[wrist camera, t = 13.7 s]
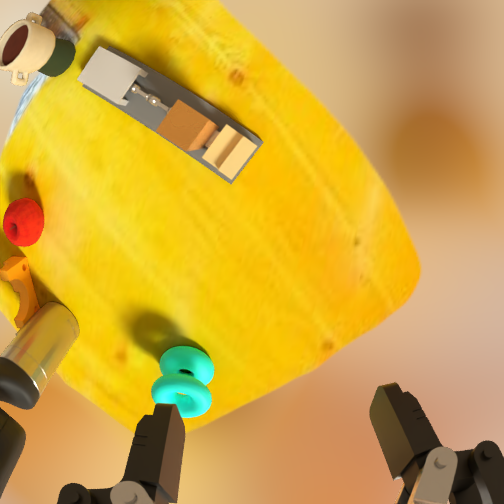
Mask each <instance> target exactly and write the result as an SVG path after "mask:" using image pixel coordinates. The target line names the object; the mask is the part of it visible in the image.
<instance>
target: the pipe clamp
mask: <svg viewBox="0 0 504 504" xmlns="http://www.w3.org/2000/svg"><path fill="white" fill-rule="evenodd" d="M3 263H4V267H2V268H1V269H0V277H1V280H3V281H10V283H11V284H12V287H13V290H14V291H15V292H20V307H19V311H18V314H17V316H16V317H15V319H14V321H15V323H16V326H17V328H20V329H21V328H22V326H23V325H24V324H25V323H26V322H27V321H28V320H29V319H30V318H31V317H32V316H33V314H34V313H35V312H36V311H37V310H38V309H39V308H40V307H39V303H38V300H37V297H36V293H35V289H34V286H33V282H32V278H31V274H30V270H29V266H28V261H27V257H20V256H12V257H10V258H9V259H7V260H6V261H4V262H3Z"/></svg>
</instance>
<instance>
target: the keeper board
mask: <svg viewBox="0 0 504 504" xmlns="http://www.w3.org/2000/svg"><path fill="white" fill-rule="evenodd" d="M77 80H78V81H80V82H82V83H83V87H85V88H86V89H88V90H90V91H91V92H93V93H94V94H96V95H98V96H99V97H101V98H103V99H104V100H106V101H107V102H109V103H111V104H112V105H114V106H115V107H117V108H119V109H120V110H122V111H123V112H125V113H126V114H128V115H130V116H131V117H133V118H134V119H136V120H137V121H139V122H140V123H142V124H144V125H145V126H147V127H148V128H150V129H151V130H153V131H154V132H156V130H157V128H158V127H159V125H160V124H161V122H162V121H163V119H164V118H165V117H166V115H167V112H166V110H164V109H163V108H161V107H159V106H158V107H155V106H153V105H152V104H150V103H148V102H147V101H146V99H145V97H143V96H142V95H140V94H134V93H132V92H131V91H129V90H128V89H129V88H130V86H131V85H132V83H135V84H136V85H138V86H140V87H141V90H142V91H143V92H145V93H147V94H153V95H155V96H156V97H158V98H160V99H161V103H163V104H164V105H166V106H168V107H173V105H174V104H175V103H176V101H177V100H178V99H179V100H180V101H182V102H183V103H185V104H187V105H188V106H190V107H191V108H193V109H194V110H196V111H197V112H199V113H200V114H202V115H203V116H205V117H206V118H208V119H209V120H211V121H212V122H213V123H215V124H216V125H217V126H219V128H218V130H217V131H218V132H220V133H219V135H218V136H217V137H216V139H215V140H214V141H213V143H212V144H211V146H210V147H209V148H208V147H206V146H205V147H204V148H203V149H199V150H193V151H187V152H186V151H184V150H183V149H182V148H180V147H179V146H177V145H176V144H174V143H173V142H171V141H170V140H168V139H167V138H165V137H164V136H162V135H161V134H159V133H158V132H156V133H157V134H159V135H160V136H162V137H163V138H165V139H166V140H168V141H169V142H171V143H172V144H174V145H175V146H177V147H178V148H180V149H181V150H183V151H184V152H185V153H187V154H188V155H190V156H191V157H193V158H194V159H196V160H197V161H199V162H200V163H201V164H203V165H204V166H206V167H207V168H209V169H210V170H212V171H213V172H214V173H216V174H217V175H219V176H220V177H221V178H223V179H224V180H226V181H227V182H228V183H230V184H232V183H233V181H234V180H235V179H236V177H237V176H238V175H239V173H240V172H241V171H242V169H243V168H244V167H245V165H246V164H247V163H248V162H249V160H250V159H251V158H252V156H253V155H254V154H255V153H256V151H257V150H258V149H259V147H260V146H261V145H262V144H263V141H261V140H260V139H259V138H257V137H256V136H255V135H253V134H252V133H250V132H249V131H248V130H246V129H245V128H244V127H242V126H241V125H239V124H238V123H236V122H235V121H234V120H232V119H231V118H229V117H228V116H226V115H225V114H223V113H222V112H221V111H219V110H218V109H216V108H215V107H213V106H212V105H210V104H209V103H207V102H205V101H204V100H202V99H201V98H199V97H198V96H196V95H195V94H193V93H191V92H190V91H188V90H187V89H185V88H184V87H182V86H180V85H179V84H177V83H175V82H174V81H172V80H170V79H169V78H167V77H165V76H164V75H162V74H160V73H159V72H157V71H155V70H153V69H152V68H150V67H148V66H146V65H145V64H143V63H141V62H139V61H137V60H135V59H134V58H132V57H130V56H128V55H126V54H124V53H122V52H120V51H118V50H117V49H115V48H113V47H111V46H109V47H108V49H107V50H106V49H104V48H102V47H100V46H99V47H98V49H97V50H96V52H95V53H94V54H93V56H92V57H91V59H90V60H89V62H88V63H87V65H86V66H85V68H84V69H83V71H82V72H81V74H80V76H79V77H78V79H77Z"/></svg>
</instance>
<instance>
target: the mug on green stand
mask: <svg viewBox="0 0 504 504" xmlns="http://www.w3.org/2000/svg"><path fill="white" fill-rule="evenodd" d="M32 20H34V21H35V23H33V22H31V21H32ZM41 22H42V17H41V16H39V15H37V14H35V13H29V14H28V15H27V17H26V19H23V20H19V21H17V22H15V23H14V24H12V25H11V26H10V27H9V28H8V29H7V30H6V32H5V33H4V34H3V36H2V37H1V39H0V70H4V71H11V72H12V77H11V83H12V84H13V85H21V86H24V85H26V84H27V81H28V76H29V73H32V72H35V71H39V72H41V73H43V74H45V75H48V76H50V77H56V76H58V75H60V74H62V73H63V72H64V71H65V70H66V69H68V68H69V66H70V65H71V63H72V61H73V60H74V56H75V48H74V45H73V44H72V43H71V42H69V41H67V40H63V39H58V38H55V36H54V33H53V32H52V31H51V30H49V29H47V28H45V27H43V26H41ZM18 73H22V74H23V75H22V79H19V78H18Z"/></svg>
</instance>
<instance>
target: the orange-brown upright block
mask: <svg viewBox="0 0 504 504" xmlns="http://www.w3.org/2000/svg"><path fill="white" fill-rule="evenodd" d="M128 90H129V91H131V92H132V93H134V94H140V95H142V96H143V97H145V99H146V101H147V102H148V103H150V104H152V105H153V106H155V107H158V106H159V107H161V108H163V109H164V110H166V112H167V115H166V117H165V118H164V119H163V121H162V122H161V124H160V125H159V127H158V128H157V130H156V132H158V133H159V134H161V135H162V136H164V137H165V138H167V139H168V140H170V141H171V142H173V143H174V144H176V145H177V146H179V147H180V148H182V149H183V150H184V151H186V152H187V151H193V150H199V149H203V148H204V147H205V146H206V147H208V148H209V147H210V146H211V144H212V143H213V141H214V140H215V139H216V137H217V136H218V135H219V133H220V132H218V131H217V130H218V128H219V126H217V125H216V124H215V123H213V122H212V121H211V120H209V119H208V118H206V117H205V116H203V115H202V114H200V113H199V112H197V111H196V110H194V109H193V108H191V107H190V106H188V105H187V104H185V103H183V102H182V101H180V100H179V99H178V100H177V101H176V103H175V104H174V105H173V107H168V106H166V105H164V104H163V103H161V99H160V98H158V97H156V96H155V95H153V94H147V93H145V92H143V91H142V90H141V87H140V86H138V85H136V84H135V83H132V85H131V86H130V88H129V89H128Z"/></svg>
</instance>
